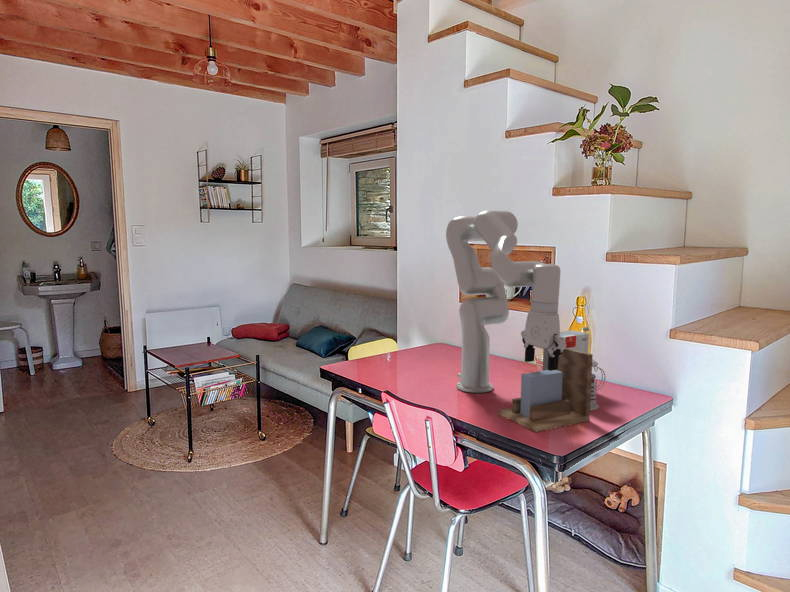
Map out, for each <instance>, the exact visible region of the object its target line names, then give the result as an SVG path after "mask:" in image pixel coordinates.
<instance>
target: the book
mask: <svg viewBox="0 0 790 592" xmlns="http://www.w3.org/2000/svg"><path fill="white" fill-rule="evenodd" d="M562 378H563V372H560V371H557V370H552V371H549V370H544V371H542V370H539V371H532V372H531V371H530V372H526V373H521V379H520V380H521V381H520V382H521V383H520V398H521V408H520V415H523V416H525V417H527V418H530V406H535V405H540V404H546V403H551V402H556V401H562Z"/></svg>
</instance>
